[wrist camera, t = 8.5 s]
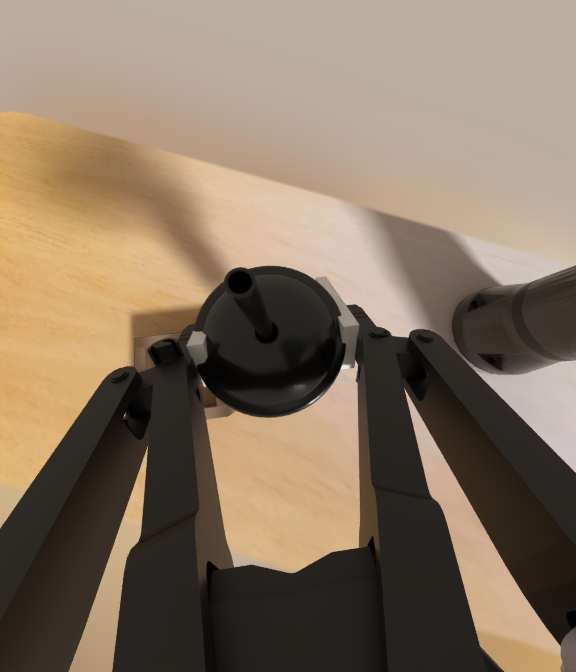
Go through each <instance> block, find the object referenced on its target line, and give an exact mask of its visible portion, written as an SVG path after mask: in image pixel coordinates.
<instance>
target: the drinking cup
mask: <svg viewBox="0 0 576 672" xmlns="http://www.w3.org/2000/svg"><path fill="white" fill-rule="evenodd" d="M339 316H341V312H340V310H339V307H338V306H337V304H336V302H335V300H334V299H333V297H332V296H331V295H330V294H329V292H328V291H327V290H326V289H325V288H324V287H323V286H322V285H321V284H319V283H318V282H317V281H316V280H314V279H313V278H311V277H310V276H308V275H306V274H304V273H302V272H300V271H297V270H294V269H291V268H286V267H280V266H261V267H255V268H250V269H246V268H242V267H239V268H235V269H232V270H231V271H229V272H228V274H227V275H226V277H225V279H224V282H222V283H221V284H220V285H219V286H218V287H217V288H216V289H215V290H214V291H213V292H212V293H211V294H210V295H209V296H208V298H207V299H206V301H205V302H204V304H203V306H202V307H201V309H200V312H199V314H198V316H197V319H196V322H195V326H194V331H195V332H203V333H204V334H205V335H206V344H207V355H208V357H207V358H206V360H205V363H201V364H198V365H197V366H196V367H197V369H198V372H199V374H200V376H201V378H202V380H203V382H204V383H205V385H206V386H207V388H208V389H209V390H210V391H211V393H212V394H213V395H214V396H215V397H216V398H217V399H219V400H220V401H221V402H222V403H224V404H225V405H227V406H228V407H230V408H232V409H234V410H236V411H238V412H241V413H243V414H247V415H250V416H255V417H264V418H271V417H281V416H286V415H290V414H293V413H296V412H298V411H301V410H303V409H305V408H307V407H308V406H310V405H312V404H313V403H314V402H316V401H317V400H318V399H319V398H321V397H322V396H323V395H324V394H325V393H326V392H327V390H328V389H329V388H330V387H331V385H332V384H333V383H334V381H335V379H336V378H337V376H338V374H339V372H340V369H341V367H342V364H343V361H344V356H345V351H346V344H345V343H342V338H341V332H340V327H339V321H338V317H339Z"/></svg>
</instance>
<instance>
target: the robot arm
mask: <svg viewBox="0 0 576 672" xmlns="http://www.w3.org/2000/svg"><path fill="white" fill-rule="evenodd" d="M316 281H317V282H318V283H319V284H321V285H322V286H323V287H324V288H325V289H326V290H327V291H328V292H329V294H330V295H331V296H332V297H333V299H334V300H335V302H336V304H337V306H338V307H339V310H340V312H341V316H339V317H338V321H339V327H340V332H341V338H342V343H345V344H346V351H345V356H344V361H343V364H342V367H341V369H347V368H354V365H355V360H356V362H357V364H358V371H357V378H356V382H358V429H359V478H360V530H359V548H356V549H349V550H343V551H337V552H331V553H330V554H328V555H326V556H324V557H322V558H321V559H319V560H317V561H315V562H314V563H312V564H310V565H308V566H307V567H305V568H303V569H301V570H300V571H298V572H296V573H286V572H282V571H277V570H273V569H268V568H264V567H259V566H255V565H247V566H241V567H234V565H233V561H232V557H231V553H230V550H229V547H228V544H227V541H226V537H225V531H224V525H223V519H222V513H221V507H220V501H219V495H218V489H217V483H216V477H215V471H214V465H213V459H212V453H211V447H210V441H209V435H208V429H207V423H206V417H205V411H204V405H203V399H202V393H201V390H200V388H199V384H200V381H202V383H203V385H204V387H207V386H206V385H205V383H204V382H203V380H202V378H201V376H200V374H199V372H198V369H197V367H196V366H197V365H198V364H201V363H205V360H206V358H207V357H208V355H207V344H206V335H205V334H204V333H203V332H195V331H194V326H195V324H193V325H188V326H187V327H186V328H185V329H184V330H183V331H182V333H181V334H180V336H179V338H178V340H177V339H175V338H165V339H161V340H159V341H157V342H155V343H153V344H152V345H151V346H150V347H148V349H147V352H148V354H149V356H150V357H151V359H152V361H153V362H154V364H155V367H153V368H151V369H148V370H145V371H142V372H138V371H137V370H136V368H135V367H132V366H127V367H123V368H119V369H117V370H115V371H113V372H112V373H110V374H109V375H108V376H107V377H106V378H105V379H104V380H103V381H102V383H101V384H100V386H99V387H98V389H97V390H96V391H95V393H94V394H93V396H92V397H91V399H90V400H89V402H88V403H87V404H86V406H85V407H84V409H83V410H82V412H81V413H80V414H79V416H78V417H77V419H76V420H75V422H74V423H73V425H72V426H71V427H70V429H69V430H68V432H67V433H66V435H65V436H64V438H63V439H62V440H61V442H60V443H59V445H58V446H57V448H56V449H55V451H54V452H53V453H52V455H51V456H50V458H49V459H48V461H47V462H46V463H45V465H44V466H43V468H42V469H41V471H40V472H39V474H38V475H37V476H36V478H35V479H34V481H33V482H32V484H31V485H30V487H29V488H28V489H27V491H26V492H25V494H24V495H23V497H22V498H21V500H20V501H19V502H18V504H17V505H16V507H15V508H14V510H13V511H12V513H11V514H10V516H9V517H8V518H7V520H6V521H5V523H4V524H3V525H2V527H1V528H0V672H68V671H69V668H70V666H71V663H72V661H73V658H74V655H75V653H76V650H77V647H78V645H79V642H80V640H81V637H82V634H83V631H84V628H85V626H86V622H87V619H88V617H89V614H90V611H91V608H92V605H93V602H94V599H95V597H96V594H97V591H98V588H99V585H100V582H101V579H102V576H103V573H104V571H105V568H106V565H107V562H108V559H109V556H110V553H111V550H112V548H113V545H114V542H115V539H116V536H117V533H118V530H119V527H120V524H121V522H122V519H123V516H124V513H125V510H126V507H127V504H128V501H129V498H130V496H131V493H132V490H133V487H134V484H135V481H136V478H137V475H138V472H139V470H140V467H141V464H142V461H143V458H144V455H145V452H146V449H147V446H148V455H147V468H146V480H145V492H144V505H143V517H142V529H141V536H140V539H139V541H138V543H137V544H136V545H135V546H134V547H133V548H132V549H131V550H130V553H129V555H128V557H127V560H126V565H125V570H124V578H123V585H122V595H121V603H120V611H119V620H118V628H117V637H116V645H115V653H114V662H113V671H112V672H504V671H503V670H502V669H501V668H500V667H499V666H498V665H497V664H496V663H495V662H494V660H493V659H492V658H491V657H490V656H489V655H488V654H487V653H486V652H485V651H484V650H483V649H482V648H481V647H480V645H479V641H478V637H477V634H476V630H475V626H474V622H473V619H472V615H471V611H470V608H469V604H468V600H467V596H466V593H465V589H464V585H463V581H462V578H461V574H460V570H459V567H458V563H457V559H456V555H455V552H454V548H453V544H452V541H451V537H450V533H449V529H448V526H447V522H446V519H445V516H444V513H443V510H442V509H441V507H440V505H439V503H438V502H437V501H435V500H434V499H433V498H432V497H431V495H430V493H429V490H428V486H427V482H426V478H425V473H424V469H423V465H422V461H421V457H420V453H419V448H418V444H417V440H416V436H415V432H414V427H413V423H412V419H411V415H410V411H409V406H408V402H407V398H406V394H405V390H406V391H407V393H408V395H409V397H410V398H411V400H412V402H413V404H414V405H415V407H416V409H417V411H418V412H419V414H420V416H421V418H422V420H423V421H424V423H425V425H426V427H427V428H428V430H429V432H430V434H431V435H432V437H433V439H434V441H435V442H436V444H437V446H438V448H439V449H440V451H441V453H442V455H443V456H444V458H445V460H446V462H447V463H448V465H449V467H450V469H451V470H452V472H453V474H454V476H455V477H456V479H457V481H458V483H459V484H460V486H461V488H462V490H463V491H464V493H465V495H466V497H467V498H468V500H469V502H470V504H471V505H472V507H473V509H474V511H475V512H476V514H477V516H478V518H479V519H480V521H481V523H482V525H483V527H484V528H485V530H486V532H487V534H488V535H489V537H490V539H491V541H492V542H493V544H494V546H495V548H496V549H497V551H498V553H499V555H500V556H501V558H502V560H503V562H504V563H505V565H506V567H507V568H508V570H509V572H510V573H511V575H512V577H513V578H514V580H515V581H516V583H517V585H518V586H519V588H520V590H521V591H522V593H523V595H524V596H525V597H526V599H527V600H528V602H529V603H530V605H531V606H532V608H533V609H534V610H535V612H536V613H537V615H538V616H539V618H540V619H541V621H542V622H543V623H544V625H545V626H546V628H547V629H548V630H549V632H550V633H551V634H552V636H553V637H554V638H555V639H556V641H557V642H558V643H559V645H560V646H561V658H562V662H563V663H562V665H561V672H576V473H575V472H574V471H573V470H572V469H571V468H570V467H569V466H568V465H567V464H566V463H565V462H564V461H563V460H562V459H561V458H560V457H559V456H558V455H557V454H556V453H555V452H554V451H553V450H552V449H551V447H550V446H549V445H548V444H547V443H546V442H545V441H544V440H543V439H542V438H541V437H540V436H539V435H538V434H537V433H536V432H535V431H534V430H533V429H532V428H531V427H530V426H529V425H528V424H527V423H526V422H525V421H524V420H523V419H522V418H521V417H520V416H519V415H518V414H517V413H516V412H515V411H514V410H513V409H512V408H511V407H510V406H509V405H508V404H507V403H506V402H505V401H504V400H503V399H502V398H501V397H500V396H499V395H498V394H497V393H496V392H495V391H494V390H493V389H492V388H491V387H490V386H489V385H488V384H487V383H486V382H485V381H484V380H483V379H482V378H481V377H480V376H479V375H478V374H477V373H476V372H475V371H474V370H473V369H472V368H471V367H470V366H469V365H468V364H467V363H466V362H465V361H464V360H463V359H462V358H461V357H460V356H459V355H458V354H457V353H456V352H455V351H454V350H453V349H452V348H451V347H450V346H449V345H448V344H447V343H446V342H445V341H444V340H443V339H442V338H441V337H440V336H439V335H438V334H436V333H434V332H432V331H430V330H425V329H417V330H413V331H411V332H410V334H409V338H406V337H395V336H392V335H391V333H390V332H389V331H388V330H386V329H384V328H381V327H376V325H375V324H374V323H373V322H372V320H371V319H370V318H369V317H368V315H367V314H366V313H365V312H364V310H363V309H362V308H361V307H359V306H357V305H355V304H354V305H345V303H344V302H343V300H342V299H341V297H340V296H339V295H338V293H337V292H336V290H335V289H334V287H333V286H332V284H331V283H330V282H329V280H328V279H327V277H318V278H316ZM213 291H214V290H212V292H213ZM212 292H211V293H212ZM453 333H454V337H455V341H456V343H457V345H458V347H459V349H460V351H461V352H462V353H463V355H464V356H465V357H466V358H467V359H468V360H469V361H470V362H471V363H472V364H473V365H475V366H476V367H478V368H480V369H482V370H484V371H486V372H489V373H492V374H498V375H518V374H524V373H528V372H531V371H534V370H537V369H540V368H543V367H546V366H549V365H552V364H555V363H558V362H560V361H573V360H576V265H575V266H573V267H570V268H567V269H565V270H562V271H559V272H557V273H554V274H551V275H548V276H546V277H543V278H541V279H538V280H535V281H533V282H530V283H525V284H515V285H505V286H495V287H490V288H486V289H483V290H481V291H478V292H476V293H474V294H471V295H469V296H468V297H466V298H465V299H464V300H463V301H462V302H461V303H460V304H459V306H458V307H457V309H456V311H455V314H454V318H453ZM404 388H405V390H404ZM125 413H126V415H125V417H124V414H125Z"/></svg>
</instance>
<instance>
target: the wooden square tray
mask: <svg viewBox="0 0 576 672" xmlns="http://www.w3.org/2000/svg"><path fill="white" fill-rule="evenodd" d="M180 334H181V333H173V334H165V335H157V336H148V337H140V338H134V367H135V368H136V370H137V371H138V372H142V371H145V370H148V369H151V368H153V367H155V364H154V362H153V361H152V359H151V357H150V356H149V354H148V352H147V349H148V347H150V346H151V345H152V344H153V343H155V342H157V341H159V340H161V339H165V338H175V339H177V340H178V338H179V336H180ZM216 403H217V404H215V405H207V406H204V411H205V417H206V419H212V418H220V417H227V416H229V415H231V414H232V413H233V412H235V410H234V409H232V408H230V407H228V406H227V405H225V404H224V403H222V402H221V401H220V400H219V399H217V398H216Z"/></svg>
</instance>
